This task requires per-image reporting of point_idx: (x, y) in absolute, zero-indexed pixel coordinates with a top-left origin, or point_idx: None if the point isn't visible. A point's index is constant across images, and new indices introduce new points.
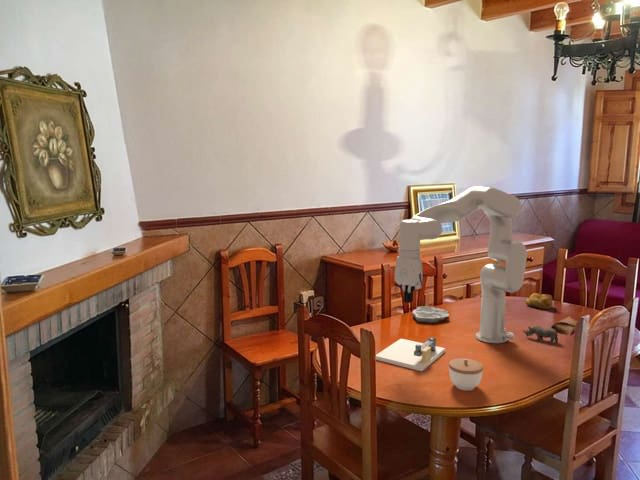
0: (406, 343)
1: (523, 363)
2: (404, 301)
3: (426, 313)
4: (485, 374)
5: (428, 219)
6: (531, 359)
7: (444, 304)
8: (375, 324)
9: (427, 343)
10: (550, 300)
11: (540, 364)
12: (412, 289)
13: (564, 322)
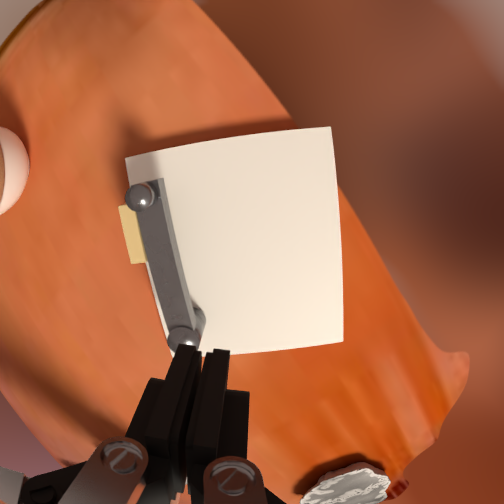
0: (301, 316)
1: (30, 376)
2: (222, 352)
3: (353, 489)
4: (22, 272)
5: None
6: (39, 400)
7: None
8: (457, 383)
9: (169, 294)
10: None
11: (18, 384)
12: (65, 480)
13: None
